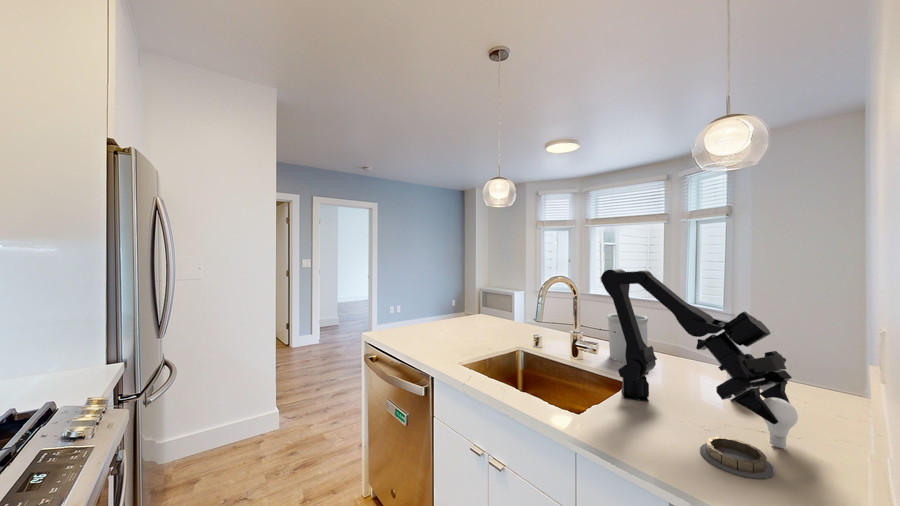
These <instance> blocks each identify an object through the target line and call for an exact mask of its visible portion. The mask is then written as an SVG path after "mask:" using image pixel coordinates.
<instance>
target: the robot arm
mask: <svg viewBox="0 0 900 506" xmlns="http://www.w3.org/2000/svg"><path fill="white" fill-rule="evenodd" d="M600 281H601V283H602V286H603V288H604V290H605V292H607V294H608V295H609V296H610V298H611V299H612V301H613V304H614V308H615V310H616V313H617V315H618V318H619V321H620V325H621V328H622V331H623V335H624V338H625V341H626V352H625V357H626V363H625V364H624V365H623V366H621V367H620V368H618V370H617V371H618V374H619V377H620V378H621V381H622V382H621V383H622V384H621V385H622V387H621V394H622V397H623V399H628V400H636V401H643V402H648V401H649V396H650V384H649V382H648V379H647V377H646V376H648V375H649V374H650V372H651V371H652V370H653V369H654V368H655V367H656V364H657V363H656V361H657V360H658V359H657V357H656V354H655V353H654V352H655V351H654V347H653V345H650V346H648V345H647V346H646V344H645V343H644V342H643V340H642V337H641V334H640V330H639V327H638V324H637V321H636V318H635V314H636V313H635V311H634V309H633V306H632V302H631V298H630V296H629V295H630V287H631V285H635V284H636V285H637V284H638V285H640V286H641V288H643V289H644V290H645V291H646V292H648V293H649V294H650V295H651V296H652V297H653V298H655V299H656V300H657V301H658V302H659V303H660V304H662V305H663V306H664V307H665V308H666V309H667V310H669V311H670V313H672V314H673V316H674V317H675V319H676V321H677V323H678V324H679V325H680V327H682V329H683V330H684V331H685V332H686V333H687V334H688V335H690V336H691V337H695V338H699V339H697V343H696V347H695V348H696V350H699V351H700V350H701V351H705V350H708V351H709V353H711V355H712V356H713V357H714V358H715V360H716V361H717V363H719V366H718V369H719V371H721V372H722V371H725V372H726V374H727V373H728V374H729V375H730V376H731V378H730V379H729V380H728V379H727V380H726V381H724V382H722V383H720V384H719V385H717V386H716V387H715V388H716V394H717V395H718V396H719V397H720V399H721V400H722V401H724V400H730V398H731V397H732V396H731V395H734V396H735V398H733V399H731V400H732V401H731V400H730V401H731V402H734V401H735V402H734V403H736V404H739V405H741V406H743V407H744V408H746V409H748V410H749V411H751V412H753V413H755V414H756V415H757V416H759V417H761V418H762V419H763V418H764V419H766V420H767V421H769V422H770V423H772V424H777V423H778V421H777V419H776V418H775V416H774V415H773V413H772V412H771V411H770V409H769V408H768V407H767V405H766V404H765V403H764V401H763V400H764V399H766V398H770V397H775V398H780V399H783V400H785V401H787V402H788V403H790V404H791V402H790V400H789V397H788V396H787V393H786V385H788V384H789V383H788V381H789V380H791V379H793V377H792V376H791V375H790V374H789V373H788V372H787V371H786V370H787V366H786V365H785V364H786V362H787V359H786V357H783V356H782V354H781V353H779V352H778V351H776V350H773V351H766V352H764V356H762V357H756V358H755V357H754V356H753V355H752V354H750V353H744V352H743V351H742V350H741V349H740V348H739V347H738V346H740V347H741V346H744V347H746V348H749V347H750V346H752V345H754V344H755V343H757V342H760V341H761V340H763V339H764V338H766V337H768V336H770V335H771V333H772V332H771V331H770V330H769V328H768V327H767V326H766V325H765V324H764V323H763V322H762V321H761V320H759V319H757V318H756V317H754V316H752V315H750V314H749V313H748V312H747V311H742V312H741V313H739V314H738V315H736V317H734V318H732V319H731V320H729V321H724V320H720V319H716V318H713V316H712V315H710V314H709V313H707V312H705V311H704V310H702V309H700V308H698V307H696V306H694V305H691V304H689V303H688V302H687V301H685V300H683V299H682V298H681V297H680V296H679V295H677V294H676V293H675V292H674V291H673V290H671V289H670V288H669V287H668V286H666V284H664V283H663V282H661V281H660V280H659V279H657V277H655V276H654V275H653V274H652V272H650V271H649V270H639V271H638V270H637V271H626V270H623V269H622V268H612V269H607V270H604V271H603V273H602V275H601V276H600ZM720 332H721V333H720ZM718 333H719V334H718ZM708 334H710V335H709V336H708V337H705V336H706V335H708ZM716 334H717V335H716ZM701 337H705V339H701ZM761 390H762V391H761ZM760 391H761V392H760ZM761 396H762V397H761ZM762 398H764V399H762Z"/></svg>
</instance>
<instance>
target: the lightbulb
mask: <svg viewBox="0 0 900 506" xmlns="http://www.w3.org/2000/svg"><path fill="white" fill-rule="evenodd" d="M762 400H763V401H764V403H765V404H766V405H767V407H768V408H769V409H770V411H771V412H772V413H773V415H774V416H775V418H776V419H777V421H778V423H777V424H772V423H770V422H769V421H767V420H766V419H764V418H762V420H763V421H764V423H765V424H766V425H767V427H766V428H767V429H768V432H769V443H770V444H771V445H772V446H773V447H775V448H777V449H785V448H787V436H788V435H789V433H790V430H791V429H792V428H793V427H794V426H796V424H797V422H798V420H799V416H798V415H799V414H798V411H797V410H796V408H795V407H794V406H793V404H791V402H790V403H788V402H787V401H785V400H783V399H780V398H775V397H770V398H766V399H765V398H764V399H762Z"/></svg>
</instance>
